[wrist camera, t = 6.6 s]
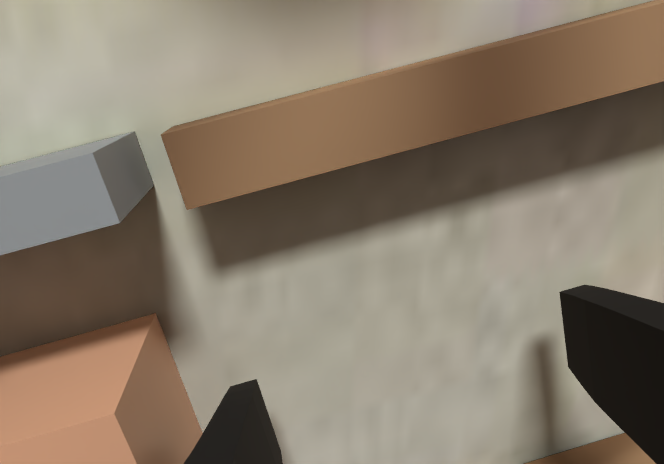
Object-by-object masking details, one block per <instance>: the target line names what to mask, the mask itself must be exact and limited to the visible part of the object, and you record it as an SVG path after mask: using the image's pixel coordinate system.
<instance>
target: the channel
mask: <svg viewBox="0 0 664 464" xmlns="http://www.w3.org/2000/svg"><path fill="white" fill-rule="evenodd" d="M663 81H664V0H654V1H650V2H647V3H643V4H639V5H635V6H631V7H628V8H624V9H620V10H616V11H612V12H608V13H605V14H601V15H597V16H593V17H589V18H585V19H582V20H578V21H574V22H570V23H566V24H563V25H559V26H555V27H551V28H547V29H543V30H540V31H536V32H532V33H528V34H524V35H521V36H517V37H513V38H509V39H505V40H501V41H498V42H494V43H490V44H486V45H482V46H478V47H475V48H471V49H467V50H463V51H459V52H456V53H452V54H448V55H444V56H440V57H436V58H433V59H429V60H425V61H421V62H417V63H414V64H410V65H406V66H402V67H398V68H394V69H391V70H387V71H383V72H379V73H375V74H372V75H368V76H364V77H360V78H356V79H352V80H349V81H345V82H341V83H337V84H333V85H329V86H326V87H322V88H318V89H314V90H310V91H307V92H303V93H299V94H295V95H291V96H287V97H284V98H280V99H276V100H272V101H268V102H265V103H261V104H257V105H253V106H249V107H245V108H242V109H238V110H234V111H230V112H226V113H222V114H219V115H215V116H211V117H207V118H203V119H200V120H196V121H192V122H188V123H184V124H180V125H177V126H173V127H171V128H170V129H169V130H167V131H166V132H164V133H163V134H161V137H162V140H163V143H164V146H165V148H166V151H167V154H168V157H169V160H170V163H171V166H172V169H173V172H174V174H175V177H176V180H177V183H178V186H179V189H180V192H181V195H182V198H183V200H184V203H185V206H186V209H187V210H189V209H192V208H196V207H200V206H204V205H207V204H211V203H215V202H218V201H222V200H226V199H229V198H233V197H237V196H241V195H244V194H248V193H252V192H255V191H259V190H263V189H266V188H270V187H274V186H278V185H281V184H285V183H289V182H292V181H296V180H300V179H303V178H307V177H311V176H315V175H318V174H322V173H326V172H329V171H333V170H337V169H340V168H344V167H348V166H352V165H355V164H359V163H363V162H366V161H370V160H374V159H378V158H381V157H385V156H389V155H392V154H396V153H400V152H403V151H407V150H411V149H415V148H418V147H422V146H426V145H429V144H433V143H437V142H440V141H444V140H448V139H452V138H455V137H459V136H463V135H466V134H470V133H474V132H477V131H481V130H485V129H489V128H492V127H496V126H500V125H503V124H507V123H511V122H514V121H518V120H522V119H526V118H529V117H533V116H537V115H540V114H544V113H548V112H551V111H555V110H559V109H563V108H566V107H570V106H574V105H577V104H581V103H585V102H588V101H592V100H596V99H600V98H603V97H607V96H611V95H614V94H618V93H622V92H626V91H629V90H633V89H637V88H640V87H644V86H648V85H651V84H655V83H659V82H663ZM524 464H656V463H655V462H654V461H653V460H652V459H651V458H650V457H649V456H648V455H647V454H646V453H645V452H644V451H643V450H642V449H641V448H640V447H639V446H638V445H637V444H636V443H635V442H634V441H633V440H632V439H631V438H630V437H629V436H628V435H627V434H626V433H623V434H620V435H616V436H613V437H610V438H606V439H603V440H600V441H597V442H593V443H590V444H587V445H584V446H580V447H577V448H574V449H570V450H567V451H564V452H561V453H557V454H554V455H551V456H547V457H544V458H541V459H538V460H534V461H531V462H528V463H524Z"/></svg>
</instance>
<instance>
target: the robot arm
mask: <svg viewBox="0 0 664 464" xmlns="http://www.w3.org/2000/svg"><path fill="white" fill-rule="evenodd" d="M560 300H561V308H562V317H563V326H564V334H565V343H566V351H567V360H568V367H569V369H570V370H571V371H572V373H573V374H574V375H575V377H576V378H577V379H578V381H579V382H580V384H581V385H582V386H583V388H584V389H585V390H586V391H587V393H588V394H589V395H590V396H591V398H592V399H593V400H594V402H595V403H596V404H597V405H598V406H599V407H600V408H601V409H602V410H603V411H604V412H605V413H606V414H607V415H608V416H609V417H610V418H611V419H612V420H613V421H614V422H615V423H616V424H617V425H618V426H619V427H620V428H621V429H622V430H623V431H624V432H625V433H626V434H627V435H628V436H629V437H630V438H631V439H632V440H633V441H634V442H635V443H636V444H637V445H638V446H639V447H640V448H641V449H642V450H643V451H644V452H645V453H646V454H647V455H648V456H649V457H650V458H651V459H652V460H653V461H654V462H655V463H656V464H664V303H661V302H657V301H653V300H649V299H645V298H641V297H637V296H633V295H629V294H625V293H621V292H617V291H613V290H609V289H605V288H600V287H595V286H589V285H582V286H579V287H575V288H572V289H568V290H565V291H561V292H560ZM184 464H283V463H282V455H281V450H280V447H279V444H278V441H277V438H276V435H275V432H274V429H273V427H272V424H271V421H270V418H269V415H268V412H267V409H266V406H265V403H264V400H263V397H262V394H261V391H260V388H259V385H258V382H257V379H255V380H252V381H248V382H245V383H241V384H238V385H234V386H231V387H230V388H229V389H228V391H227V393H226V394H225V396H224V398H223V399H222V401H221V403H220V405H219V406H218V408H217V410H216V412H215V413H214V415H213V417H212V419H211V420H210V422H209V424H208V426H207V427H206V429H205V431H204V432H203V434H202V435H201V437H200V439H199V440H198V442H197V444H196V445H195V447H194V449H193V450H192V452H191V453H190V455H189V456H188V458H187V459H186V461H185V462H184Z"/></svg>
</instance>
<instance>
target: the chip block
mask: <svg viewBox="0 0 664 464" xmlns="http://www.w3.org/2000/svg"><path fill="white" fill-rule="evenodd" d="M202 434H203V433H202V430H201V428H200V425H199V423H198V420H197V418H196V415H195V413H194V410H193V407H192V405H191V402H190V400H189V397H188V395H187V392H186V390H185V387H184V384H183V382H182V379H181V377H180V374H179V372H178V369H177V367H176V364H175V361H174V359H173V356H172V354H171V351H170V349H169V346H168V344H167V341H166V338H165V336H164V333H163V331H162V328H161V326H160V323H159V321H158V318H157V315H156V313H155V314H151V315H148V316H144V317H140V318H137V319H133V320H130V321H126V322H122V323H119V324H115V325H112V326H108V327H105V328H101V329H97V330H94V331H90V332H87V333H83V334H79V335H76V336H72V337H69V338H65V339H62V340H58V341H54V342H51V343H47V344H44V345H40V346H36V347H33V348H29V349H26V350H22V351H19V352H15V353H11V354H8V355H4V356H1V357H0V464H184V462H185V461H186V459H187V458H188V456H189V455H190V453H191V452H192V450H193V449H194V447H195V445H196V444H197V442H198V440H199V439H200V437H201V435H202Z"/></svg>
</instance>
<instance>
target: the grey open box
mask: <svg viewBox="0 0 664 464" xmlns="http://www.w3.org/2000/svg"><path fill="white" fill-rule="evenodd" d="M153 186H154V184H153V181H152V179H151V176H150V173H149V170H148V168H147V165H146V162H145V159H144V157H143V154H142V151H141V148H140V145H139V143H138V140H137V137H136V134H135V132H131V133H127V134H123V135H119V136H115V137H111V138H108V139H104V140H100V141H96V142H92V143H88V144H85V145H81V146H77V147H73V148H69V149H65V150H62V151H58V152H54V153H50V154H46V155H42V156H39V157H35V158H31V159H27V160H23V161H20V162H16V163H12V164H8V165H4V166H0V255H3V254H7V253H11V252H15V251H18V250H22V249H26V248H29V247H33V246H37V245H41V244H44V243H48V242H52V241H55V240H59V239H63V238H67V237H70V236H74V235H78V234H81V233H85V232H89V231H92V230H96V229H100V228H104V227H107V226H111V225H115V224H118V223H120V222H121V221H122V220H123V219H124V218H125V217H126V216H127V215H128V214H129V212H130V211H131V210H132V209H133V208H134V207H135V206H136V205H137V204H138V202H139V201H140V200H141V199H142V198H143V197H144V196H145V195H146V194H147V192H148V191H149V190H150V189H151V188H152V187H153Z"/></svg>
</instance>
